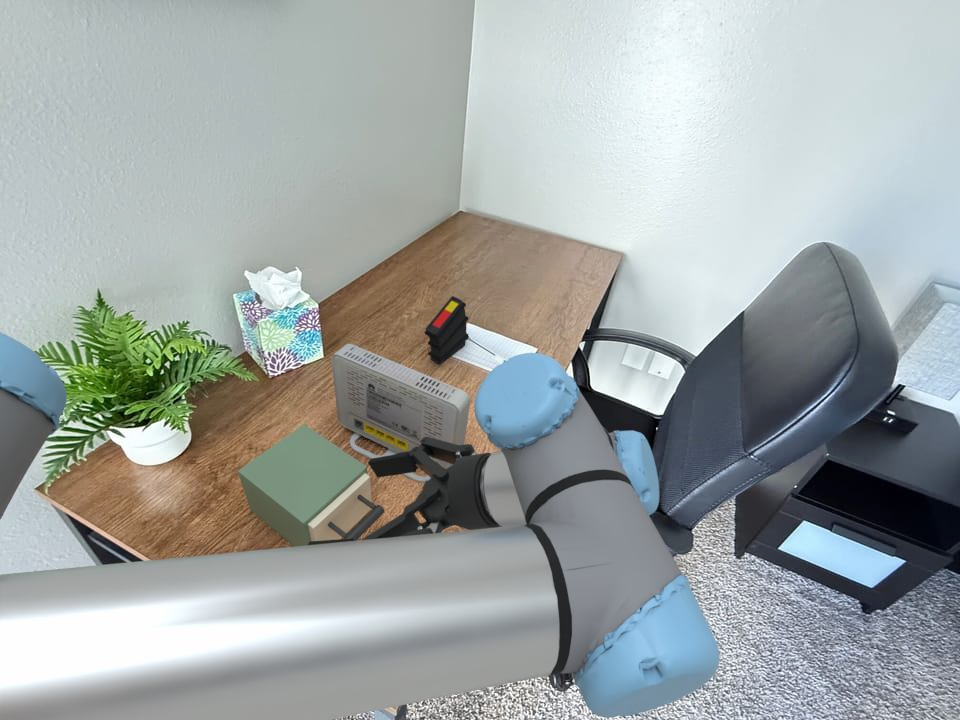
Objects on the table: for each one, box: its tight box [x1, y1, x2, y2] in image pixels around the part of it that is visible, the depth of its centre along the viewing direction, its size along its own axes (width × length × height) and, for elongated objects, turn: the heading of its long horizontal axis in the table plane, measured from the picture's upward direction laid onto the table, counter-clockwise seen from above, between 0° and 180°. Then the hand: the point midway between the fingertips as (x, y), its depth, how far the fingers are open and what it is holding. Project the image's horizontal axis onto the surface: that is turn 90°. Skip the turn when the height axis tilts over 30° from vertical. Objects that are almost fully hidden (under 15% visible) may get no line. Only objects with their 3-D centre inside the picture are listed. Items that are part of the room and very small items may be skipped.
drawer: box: [308, 473, 386, 541], centre depth 74 cm, size 18×11×9 cm, turn 57°
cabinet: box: [237, 423, 369, 547], centre depth 75 cm, size 15×13×11 cm
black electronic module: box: [424, 295, 469, 365], centre depth 112 cm, size 4×13×15 cm, turn 146°
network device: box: [330, 343, 471, 484], centre depth 84 cm, size 26×9×20 cm, turn 65°
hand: (346, 506), depth 57 cm, fingers open, 13 cm apart
